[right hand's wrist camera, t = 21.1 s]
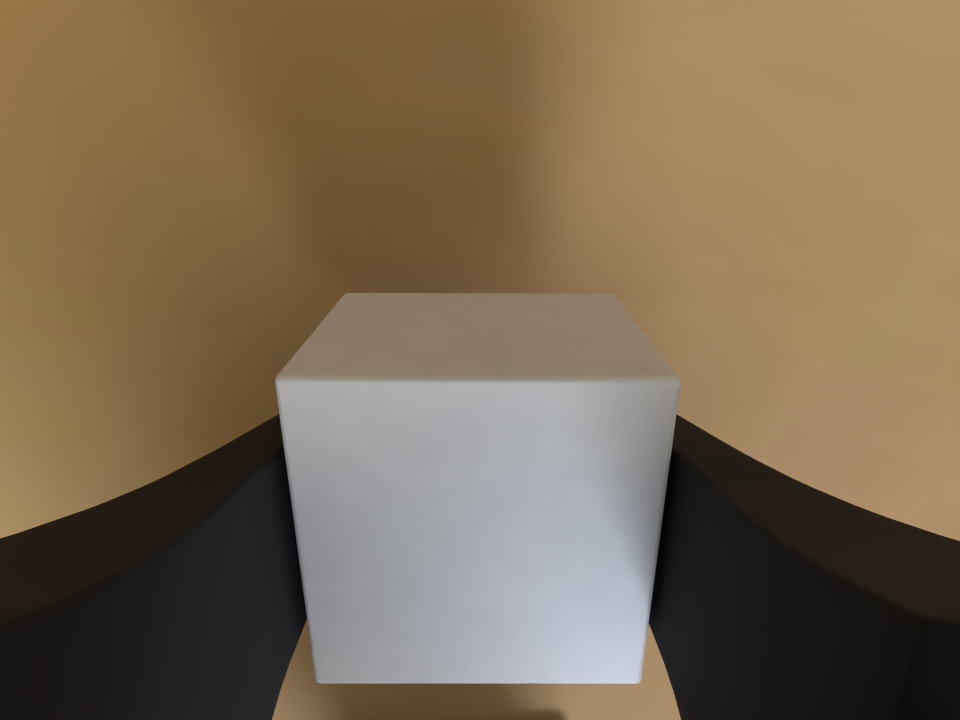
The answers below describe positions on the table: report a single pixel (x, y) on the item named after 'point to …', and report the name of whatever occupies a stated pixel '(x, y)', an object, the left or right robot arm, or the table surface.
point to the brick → (478, 487)
